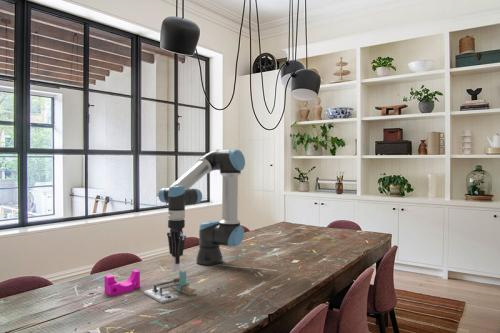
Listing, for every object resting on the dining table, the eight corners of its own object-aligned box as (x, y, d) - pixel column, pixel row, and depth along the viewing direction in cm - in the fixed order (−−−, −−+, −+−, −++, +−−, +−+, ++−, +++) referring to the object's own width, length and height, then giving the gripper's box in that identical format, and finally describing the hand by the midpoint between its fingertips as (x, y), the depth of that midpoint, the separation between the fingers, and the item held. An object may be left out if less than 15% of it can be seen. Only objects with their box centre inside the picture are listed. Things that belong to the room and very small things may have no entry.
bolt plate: (159, 289, 173) (159, 286, 173) (178, 299, 161) (178, 295, 161) (143, 293, 168) (143, 290, 168) (161, 303, 156) (161, 300, 156)
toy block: (110, 296, 165) (110, 279, 165) (104, 292, 170) (104, 275, 170) (142, 288, 175) (142, 272, 175) (136, 285, 180) (136, 269, 180)
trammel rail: (176, 285, 179) (176, 276, 179) (195, 294, 167) (195, 284, 167) (150, 291, 170) (150, 281, 170) (169, 301, 158) (169, 290, 158)
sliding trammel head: (185, 287, 175) (185, 269, 175) (189, 289, 173) (189, 270, 172) (158, 294, 165) (158, 275, 165) (161, 296, 163) (161, 276, 163)
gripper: (162, 218, 178) (161, 269, 178) (176, 221, 168) (176, 275, 168) (176, 217, 183) (175, 266, 183) (191, 220, 173) (190, 272, 173)
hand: (175, 270), depth 176 cm, fingers closed
